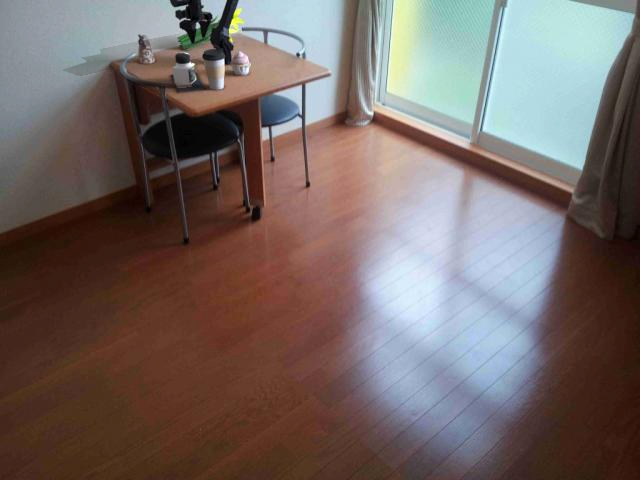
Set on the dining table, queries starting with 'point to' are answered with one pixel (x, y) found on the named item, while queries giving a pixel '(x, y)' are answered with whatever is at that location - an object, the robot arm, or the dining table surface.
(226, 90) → the dining table surface
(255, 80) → the dining table surface
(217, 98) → the dining table surface
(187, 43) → the daffodil flowers
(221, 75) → the coffee cup
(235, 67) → the cupcake
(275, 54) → the dining table surface
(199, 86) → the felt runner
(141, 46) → the figurine
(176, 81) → the medicine bottle
